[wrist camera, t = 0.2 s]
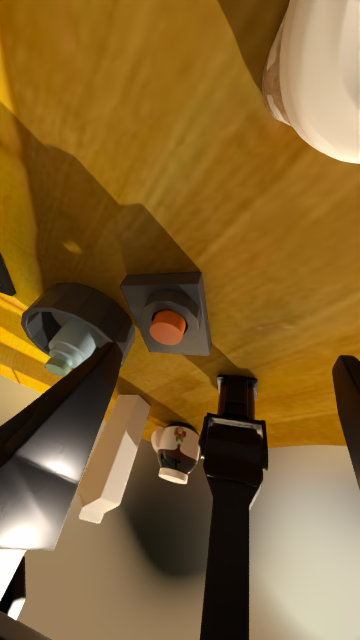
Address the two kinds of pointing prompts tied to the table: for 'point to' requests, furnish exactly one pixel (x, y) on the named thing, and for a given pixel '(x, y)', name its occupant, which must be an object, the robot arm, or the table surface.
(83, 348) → the bottle
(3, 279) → the calculator
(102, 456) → the milk
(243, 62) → the table surface
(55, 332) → the bottle warmer
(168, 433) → the spread jar
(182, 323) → the stop button
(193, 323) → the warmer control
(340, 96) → the sprinkles bottle
